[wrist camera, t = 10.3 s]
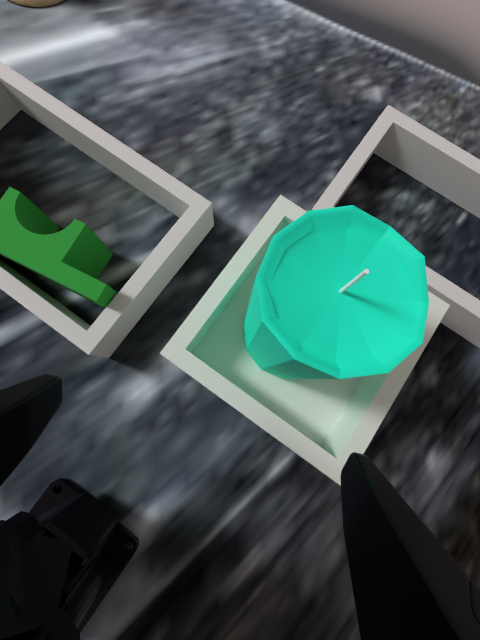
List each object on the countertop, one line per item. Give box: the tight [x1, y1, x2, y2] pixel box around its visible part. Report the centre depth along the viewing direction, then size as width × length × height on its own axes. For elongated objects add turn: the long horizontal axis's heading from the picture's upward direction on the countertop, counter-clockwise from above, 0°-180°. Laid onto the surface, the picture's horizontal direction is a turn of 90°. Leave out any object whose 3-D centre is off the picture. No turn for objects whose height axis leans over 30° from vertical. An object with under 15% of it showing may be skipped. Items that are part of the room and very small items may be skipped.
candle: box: [243, 205, 429, 379], centre depth 14 cm, size 6×6×12 cm
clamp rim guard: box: [0, 62, 214, 358], centre depth 21 cm, size 12×19×3 cm, turn 55°
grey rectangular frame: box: [312, 105, 480, 348], centre depth 22 cm, size 10×18×3 cm, turn 55°
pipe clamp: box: [0, 187, 118, 308], centre depth 20 cm, size 11×4×5 cm, turn 64°
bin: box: [160, 195, 450, 486], centre depth 19 cm, size 12×12×4 cm
